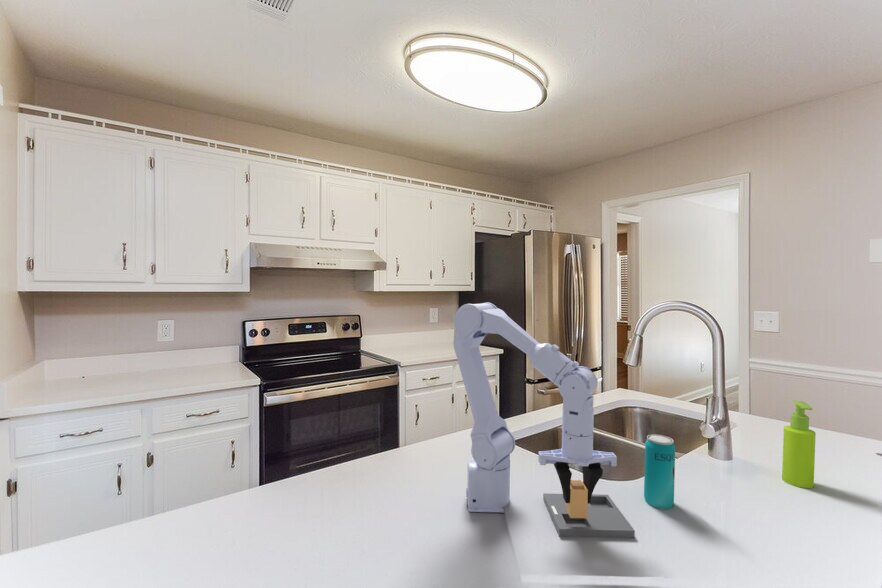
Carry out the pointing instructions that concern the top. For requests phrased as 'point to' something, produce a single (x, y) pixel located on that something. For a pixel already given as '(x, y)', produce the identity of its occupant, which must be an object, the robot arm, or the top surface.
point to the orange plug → (577, 500)
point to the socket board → (589, 518)
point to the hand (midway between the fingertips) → (576, 500)
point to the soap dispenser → (799, 449)
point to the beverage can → (659, 471)
